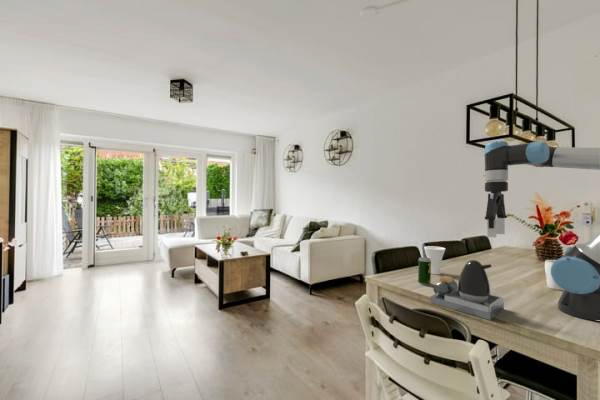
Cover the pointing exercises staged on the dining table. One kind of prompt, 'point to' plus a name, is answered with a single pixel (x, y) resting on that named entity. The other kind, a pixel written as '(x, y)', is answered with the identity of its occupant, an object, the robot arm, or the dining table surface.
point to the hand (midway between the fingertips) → (496, 235)
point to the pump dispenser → (474, 282)
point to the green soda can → (424, 271)
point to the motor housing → (452, 299)
